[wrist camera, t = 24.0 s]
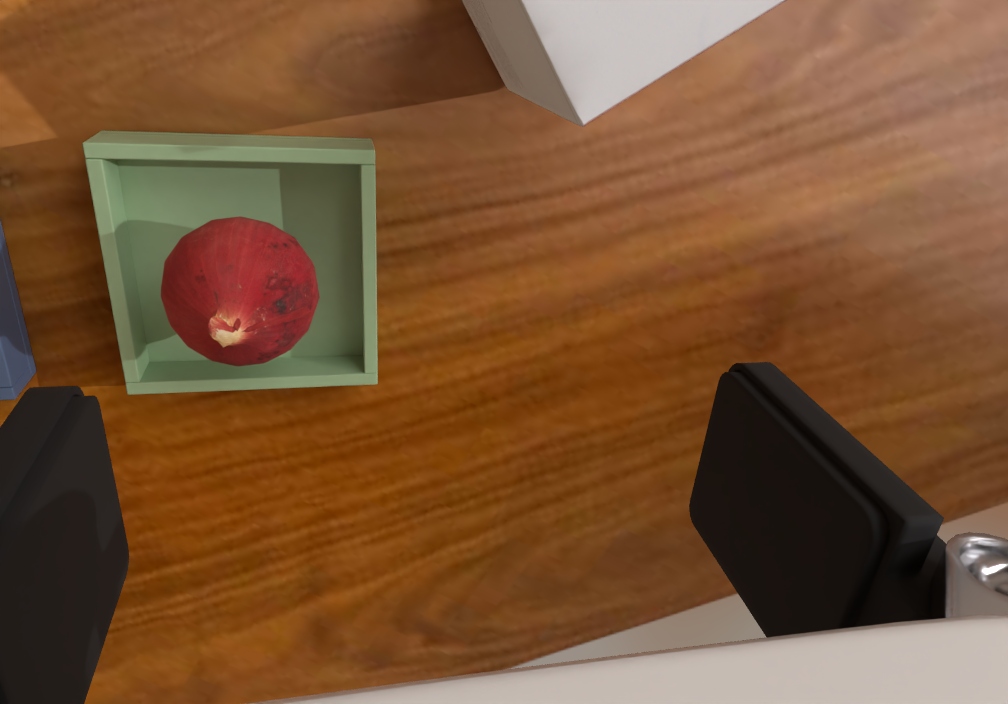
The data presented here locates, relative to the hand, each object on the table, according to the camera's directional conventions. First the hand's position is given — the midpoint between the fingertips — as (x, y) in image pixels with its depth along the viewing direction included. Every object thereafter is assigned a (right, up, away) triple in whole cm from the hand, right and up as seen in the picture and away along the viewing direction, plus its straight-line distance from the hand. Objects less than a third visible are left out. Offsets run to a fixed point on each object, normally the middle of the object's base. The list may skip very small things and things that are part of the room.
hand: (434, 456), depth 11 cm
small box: (+3, +17, +19) cm, 26 cm away
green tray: (-10, +6, +22) cm, 25 cm away
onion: (-10, +6, +21) cm, 24 cm away
